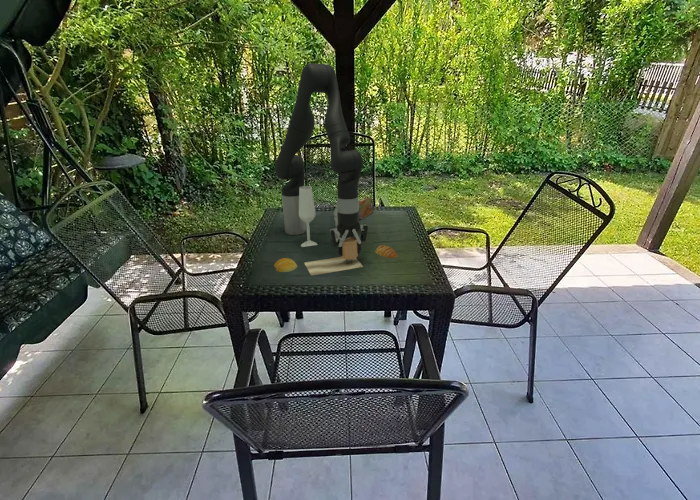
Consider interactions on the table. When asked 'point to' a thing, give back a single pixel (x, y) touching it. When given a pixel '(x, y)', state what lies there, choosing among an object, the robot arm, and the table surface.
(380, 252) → the pastry
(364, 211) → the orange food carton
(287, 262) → the bread roll
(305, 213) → the champagne flute
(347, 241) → the cap
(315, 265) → the board
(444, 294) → the table surface
